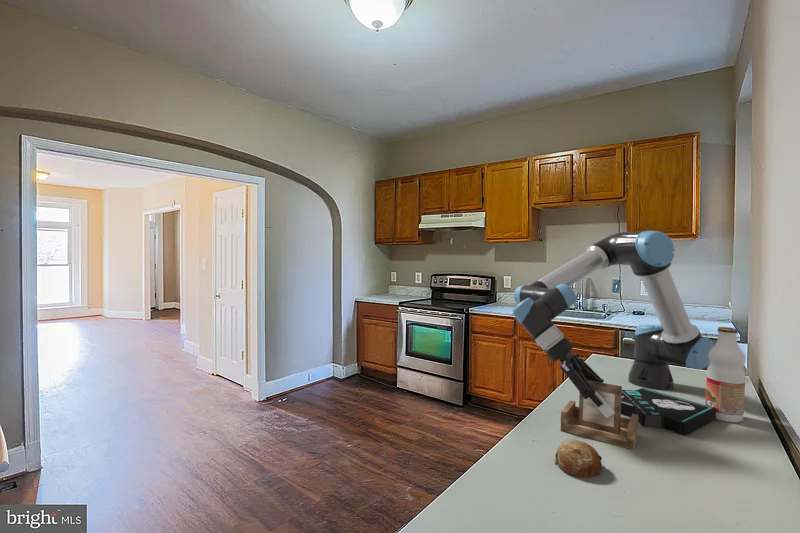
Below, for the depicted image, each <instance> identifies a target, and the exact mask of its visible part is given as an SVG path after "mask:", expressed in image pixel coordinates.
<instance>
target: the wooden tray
mask: <svg viewBox="0 0 800 533" xmlns="http://www.w3.org/2000/svg"><path fill="white" fill-rule="evenodd" d="M578 422H579V406H576V401H574V400H569V401H568V402H567V404H566V405H565V406H564V407H563V409H561V411H560V432H563V433H564V432H565V433H568V434H572V435H576V436H580V437H584V438H588V439H591V440H595V441H600V442H603V443H606V444H611V445H613V446H614V445H615V446H617V447H618V446H619V447H623V448H626V449H630V450H634V449H635V445H636V442H637V438H638V434H639V423H638V415H637V414H632V416H631V418H630V417H627V416H621V422H620V431H619V433H618V434H614V433H610V432H606V431H602V430H598V429H594V428H590V427H586V426H582V425H578Z"/></svg>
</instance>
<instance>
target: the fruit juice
mask: <svg viewBox="0 0 800 533" xmlns="http://www.w3.org/2000/svg"><path fill="white" fill-rule="evenodd" d="M717 333H718V337H717V340H716V341H715V344H714V346H713V347H712V348H711V349H710V350H709V352H708V358H709V361H710V363H709V364H708V365H707V368H706V379H705V380H706V382H705V384H706V385H705V404H704V405H707V406H711V407H714V408H716V420H717V421H722V422H726V423H734V424H735V423H741V422H743V420H744V416H745V414H744V411H745V394H746V373H745V370H744V366H745V364H746V355H745V352H743V350H742V348H740V346H739V343H738V341H737V336H738V334H739V330H738V329H737V328H736V327H735V328H734V327H726V326H718V327H717Z"/></svg>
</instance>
